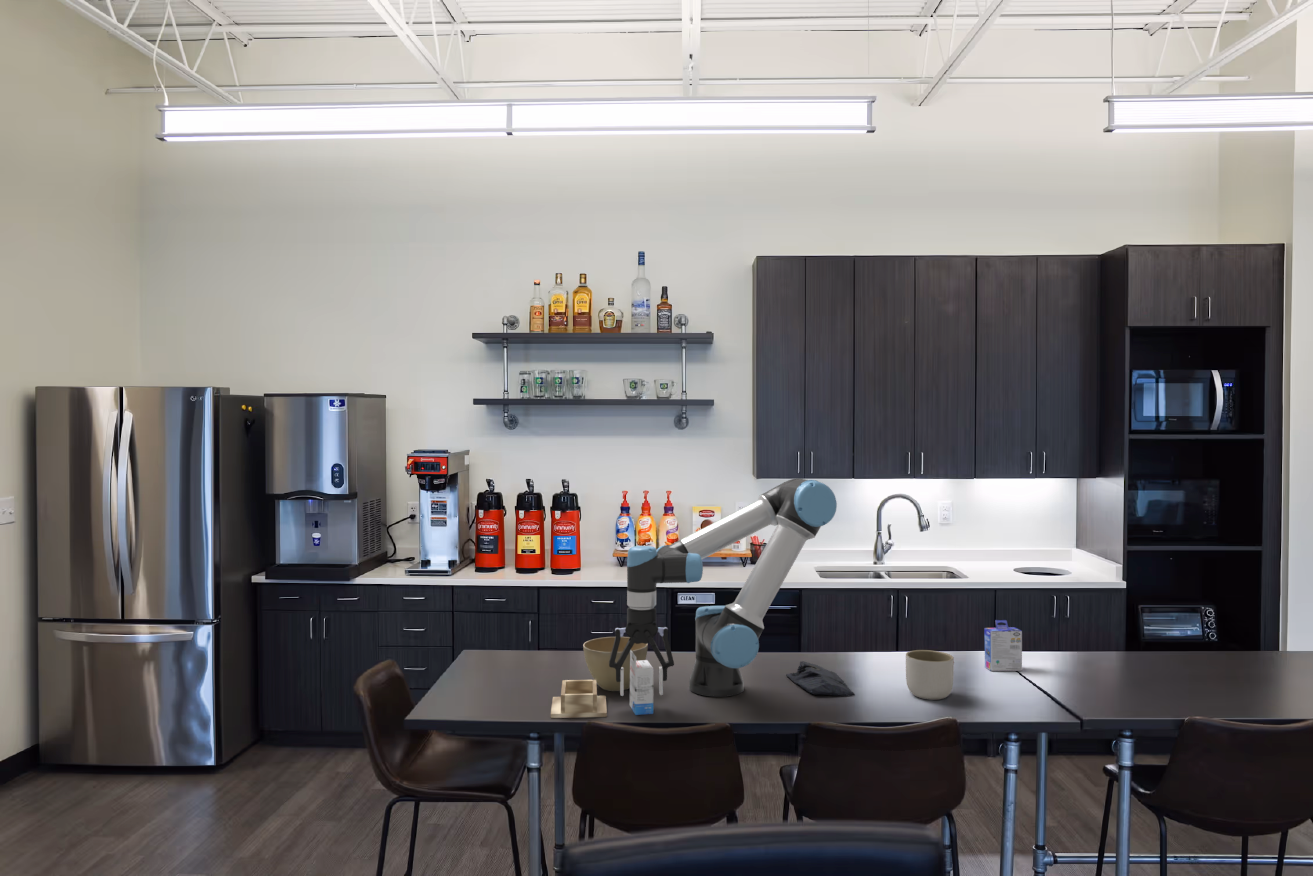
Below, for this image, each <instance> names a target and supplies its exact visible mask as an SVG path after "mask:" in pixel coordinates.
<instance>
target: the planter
mask: <svg viewBox="0 0 1313 876" xmlns="http://www.w3.org/2000/svg"><path fill="white" fill-rule="evenodd" d="M954 658H955V657H954V656H953V655H951V654H949V653H946V652H943V651H939V650H929V649H916V650H910V651H907V652H906V653H905V681H906V686H907V688H908V690H909V692H910V693H911V694H912V695H913V696H915V697H917V698H918V699H919V698H920V699H925V700H931V701H933V700H934V701H936V700H937V701H938V700H939V701H940V700H944V699H946V698H947V697H949V695H950V694H951V693H952V690H953V685H954V674H955V673H954V672H955V671H954V669H955V667H954V665H955V663H954V662H955V660H954Z"/></svg>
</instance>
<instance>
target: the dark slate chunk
mask: <svg viewBox="0 0 1313 876" xmlns="http://www.w3.org/2000/svg"><path fill="white" fill-rule="evenodd" d="M796 670H797V671H796V672H791V673H786V675H785V676H786V677H787V678H788V679H790V681H792V682H793V683H794V684H795V685H797V686H800V687H801V688H802V689H803V690H805V691H806V692H807V693H808V694H809V693H810V694H812V695H815V696H817V695H818V696H819V695H822V696H824V695H825V696H841V697H850V696H851V697H852V696H855V695H856V694H855V693H854V692H853V691H852V689H850V688H849V687H848V685H847V684H846V683H845V681H844V680H843V679H842V677H840V675H838V674H837V673H836V672H834V671H832V670H828V669H827V668H824V667H822V666H820V665H818V664H813V663H810V662H807V661H803V660H802V661H800V662H799V665H798V668H797V669H796Z"/></svg>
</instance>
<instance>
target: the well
mask: <svg viewBox="0 0 1313 876" xmlns="http://www.w3.org/2000/svg"><path fill="white" fill-rule="evenodd" d="M597 685H598V683H597V682H596V680H595V679H569V680H568V679H565V680H564V679H563V680H561V691H560V696H552V700H551V701H552V703H551V708H550V719H562V718H564V719H565V718H568V719H569V718H571V719H572V718H573V719H574V718H576V719H577V718H607V717H608V711H607V699H606V698H607V696H606V695H598V690H597V687H598V686H597Z"/></svg>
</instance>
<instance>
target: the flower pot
mask: <svg viewBox="0 0 1313 876" xmlns="http://www.w3.org/2000/svg"><path fill="white" fill-rule="evenodd" d="M615 637H616V636H606V637H598V638H593V639H590V640H587V641H585V642H584V643H583V645H582V646H583V647H582V648H583V649H582V650H583V654H584V655H583V656H584V660H585V663H586V666H587V668H588V671H589V673H590V675H591V676H592V678H593V680H596V684H597V685H598V686H599V687H600V688H601V689H602V690H604V691H609V692H620V682H617V681H616V669H615V668H611V667H609V660H610V656H611V652H612V648H613V645H614V641H615ZM629 638H630V637H629V636H622V637H620V643H619V647H618V651H617V655H616V659H615V662H616V663H617V661H618V660H619V658H620V656H621V654H622V652H623V650H624V648H625V646H626V644H627V642H628V640H629ZM648 644H649V643H648ZM648 644H644V643H640V644H636V643H634V645H633V647H632V648H631V651H632V652H633V653H634V655H635V656H636V661H640V660H647V659H646V658H647V656H648V655H647V654H648V647H649V646H648ZM632 659H633V661H634V658H633V657H632ZM622 667H623V670H624V691H625V690H628V689H629V690H630V652H629V654H628V656H627V658H626V659H625V661H624V663H623V665H622Z"/></svg>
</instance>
